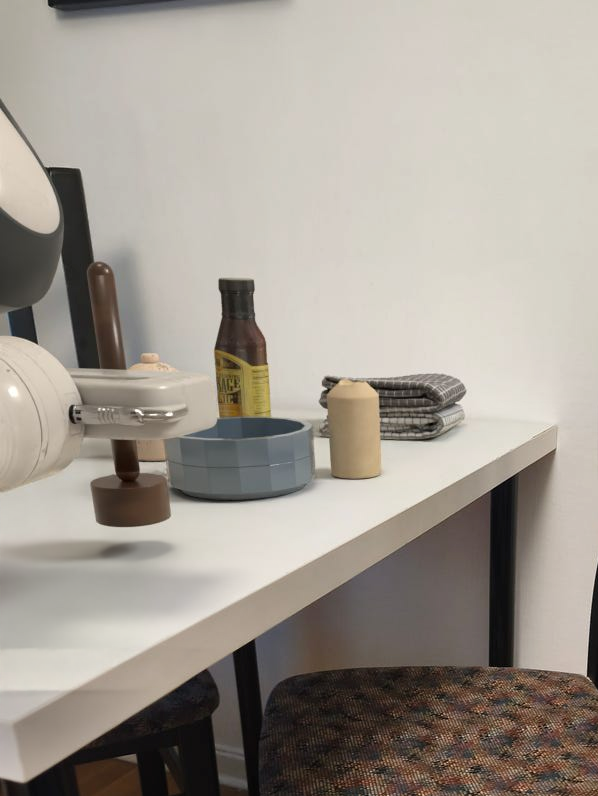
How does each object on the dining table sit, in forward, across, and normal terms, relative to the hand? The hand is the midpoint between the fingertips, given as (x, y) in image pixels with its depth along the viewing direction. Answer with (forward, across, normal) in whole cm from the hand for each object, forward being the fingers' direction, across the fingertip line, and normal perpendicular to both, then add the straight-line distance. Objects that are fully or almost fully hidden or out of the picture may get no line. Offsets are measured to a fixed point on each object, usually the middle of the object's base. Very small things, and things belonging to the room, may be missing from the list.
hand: (122, 386), depth 67 cm
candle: (+30, -9, +13) cm, 34 cm away
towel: (+59, -6, +13) cm, 61 cm away
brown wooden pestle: (-1, 0, +10) cm, 10 cm away
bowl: (+22, +1, +13) cm, 26 cm away
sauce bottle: (+41, +8, +13) cm, 44 cm away
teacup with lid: (+35, +18, +13) cm, 42 cm away
